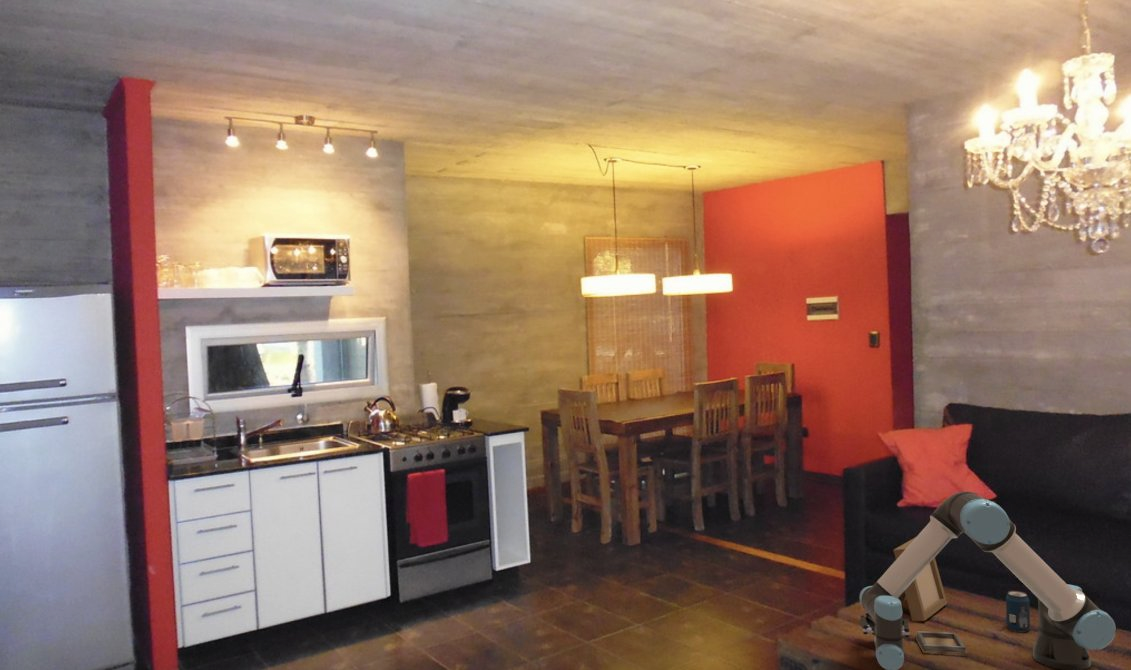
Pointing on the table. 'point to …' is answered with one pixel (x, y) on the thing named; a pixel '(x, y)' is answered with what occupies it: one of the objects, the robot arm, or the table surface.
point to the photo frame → (923, 590)
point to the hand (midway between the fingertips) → (883, 612)
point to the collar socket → (940, 643)
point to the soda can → (1017, 611)
